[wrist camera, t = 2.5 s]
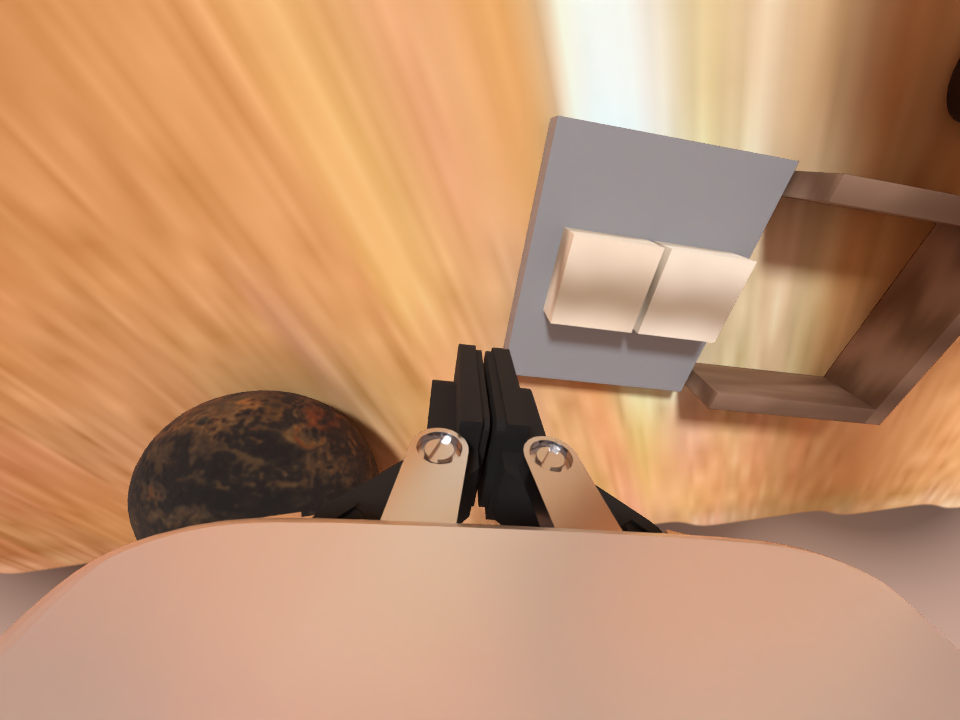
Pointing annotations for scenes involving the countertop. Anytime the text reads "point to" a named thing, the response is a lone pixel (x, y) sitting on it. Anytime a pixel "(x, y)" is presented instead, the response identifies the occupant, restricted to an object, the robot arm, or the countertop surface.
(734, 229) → the slate plate
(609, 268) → the cream tile
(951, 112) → the coffee mug
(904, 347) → the box
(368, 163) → the countertop surface
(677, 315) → the cream tile
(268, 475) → the dark bulbous vase
